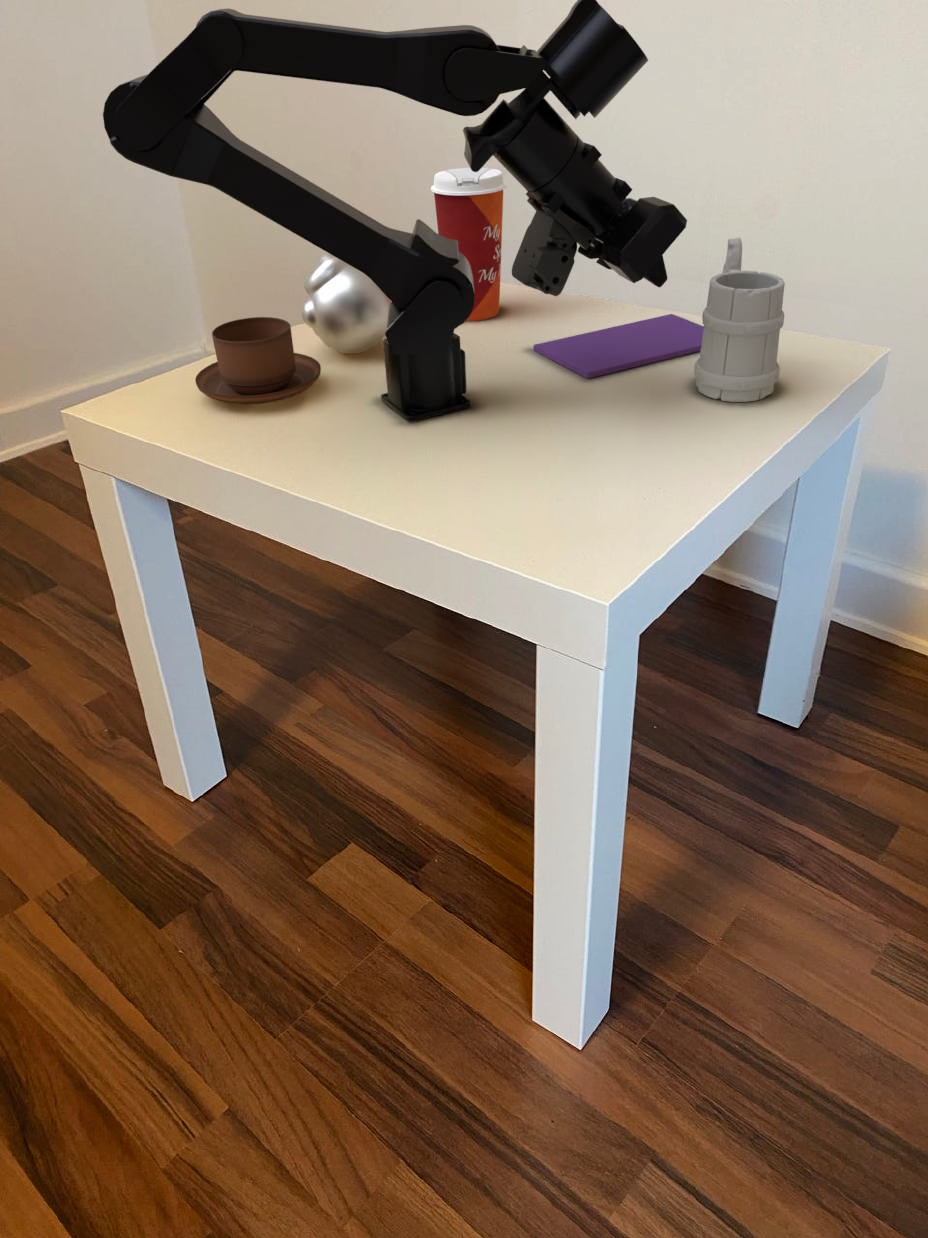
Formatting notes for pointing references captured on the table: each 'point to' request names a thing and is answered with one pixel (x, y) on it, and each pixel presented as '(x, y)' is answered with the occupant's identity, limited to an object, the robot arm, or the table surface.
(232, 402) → the cup and saucer
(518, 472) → the table surface
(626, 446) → the table surface
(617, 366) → the purple rectangular board
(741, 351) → the mug
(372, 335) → the silver lumpy ball
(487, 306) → the coffee cup
